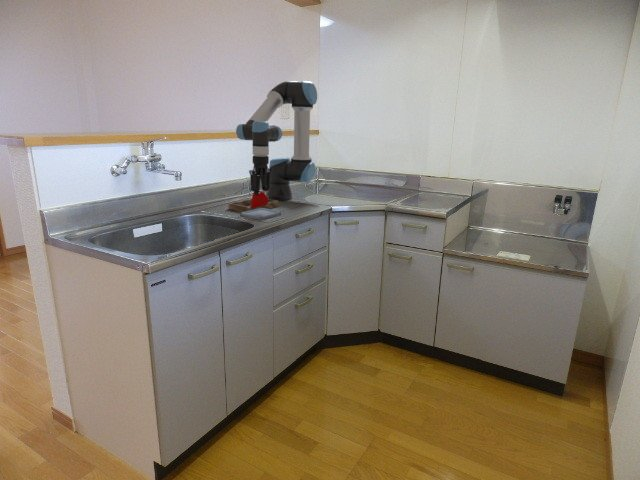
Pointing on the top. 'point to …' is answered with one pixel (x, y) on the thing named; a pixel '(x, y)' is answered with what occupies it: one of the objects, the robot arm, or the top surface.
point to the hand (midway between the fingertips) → (260, 204)
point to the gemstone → (259, 200)
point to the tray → (260, 213)
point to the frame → (242, 205)
